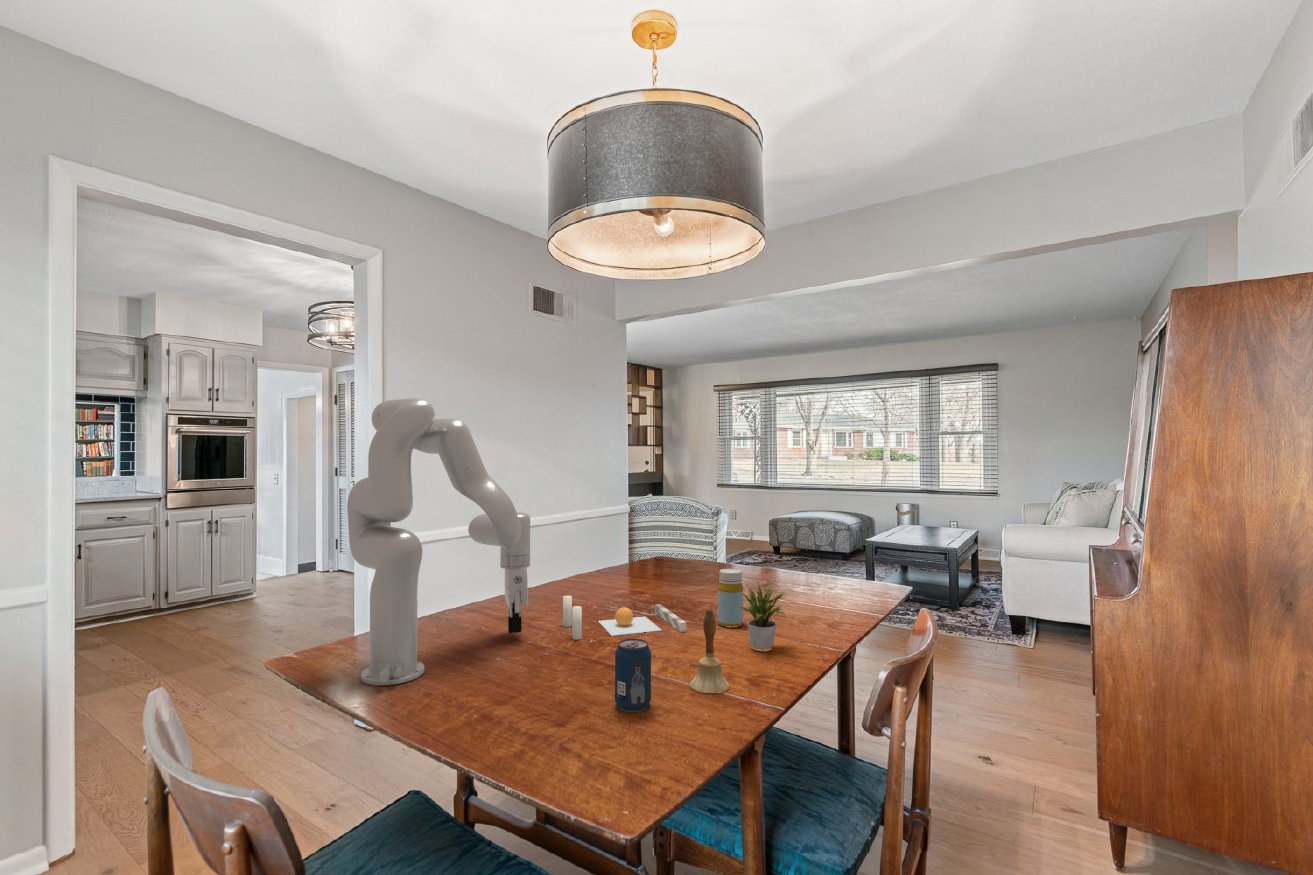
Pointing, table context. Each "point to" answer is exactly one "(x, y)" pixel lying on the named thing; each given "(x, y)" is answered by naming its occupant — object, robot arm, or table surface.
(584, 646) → the table surface
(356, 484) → the robot arm
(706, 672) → the hand bell
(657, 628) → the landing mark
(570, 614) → the post far
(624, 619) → the ball
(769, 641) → the house plant
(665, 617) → the wall
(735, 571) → the bottle
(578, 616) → the post near
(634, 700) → the soda can
